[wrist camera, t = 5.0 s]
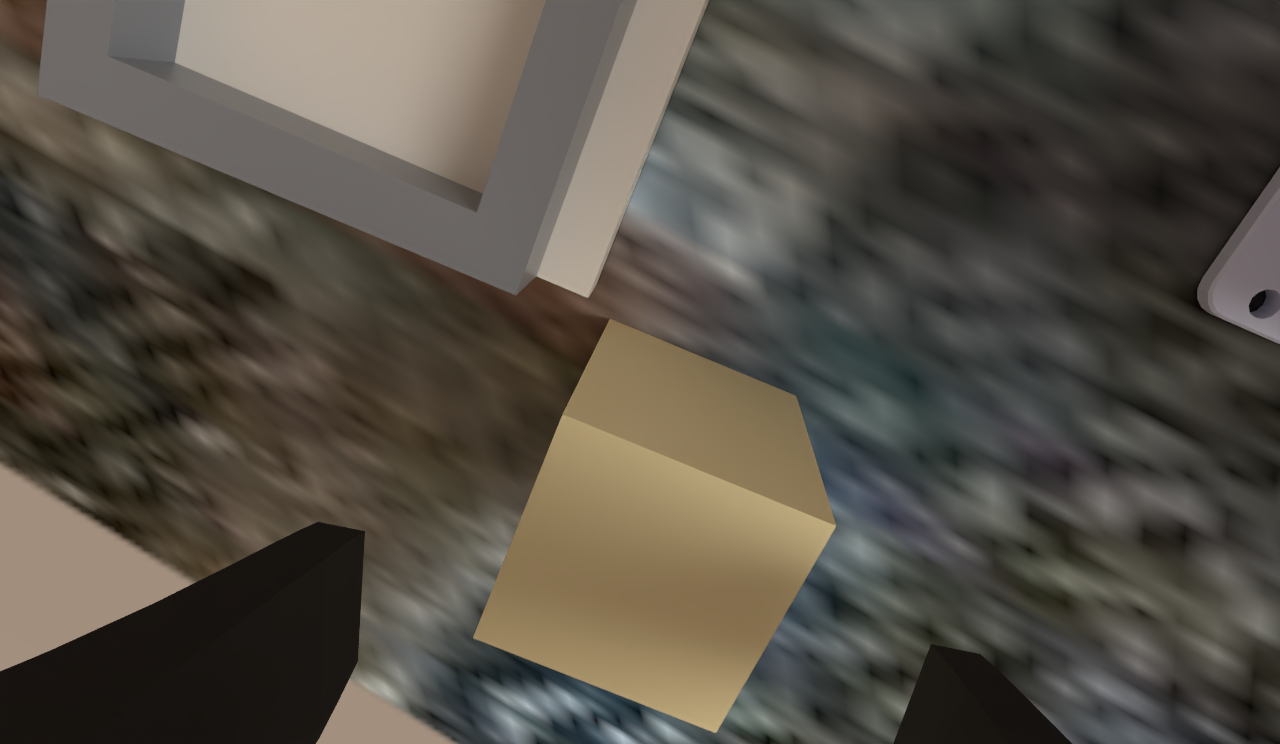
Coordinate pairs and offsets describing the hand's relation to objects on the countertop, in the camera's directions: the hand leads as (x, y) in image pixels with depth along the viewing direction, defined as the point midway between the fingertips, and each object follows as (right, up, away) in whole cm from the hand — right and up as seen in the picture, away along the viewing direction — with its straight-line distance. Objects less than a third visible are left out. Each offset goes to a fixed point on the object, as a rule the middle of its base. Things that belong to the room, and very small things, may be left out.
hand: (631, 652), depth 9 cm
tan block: (+1, +2, +6) cm, 6 cm away
